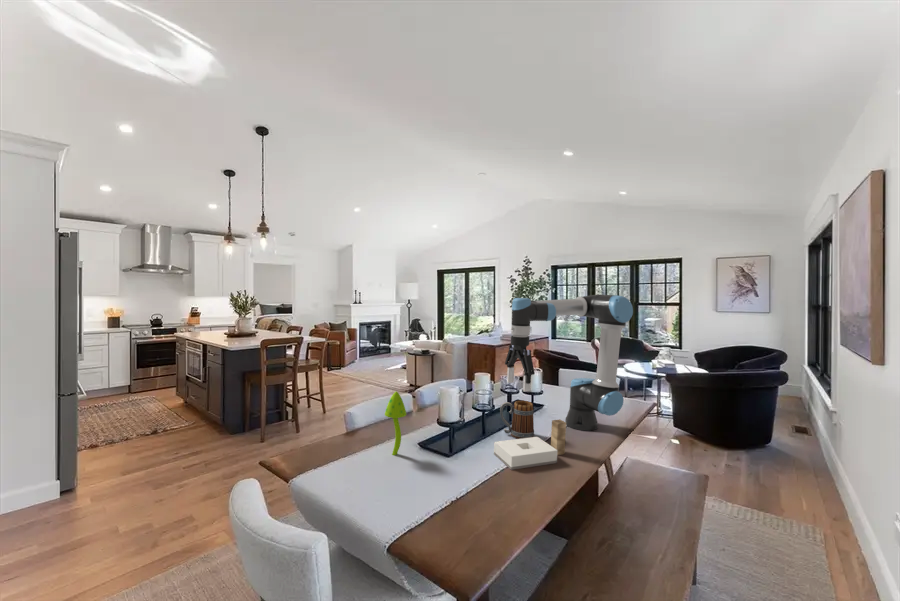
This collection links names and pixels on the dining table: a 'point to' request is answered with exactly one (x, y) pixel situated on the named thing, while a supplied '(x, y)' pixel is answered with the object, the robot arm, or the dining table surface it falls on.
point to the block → (525, 452)
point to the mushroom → (396, 417)
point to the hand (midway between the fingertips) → (518, 386)
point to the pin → (558, 436)
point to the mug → (520, 419)
